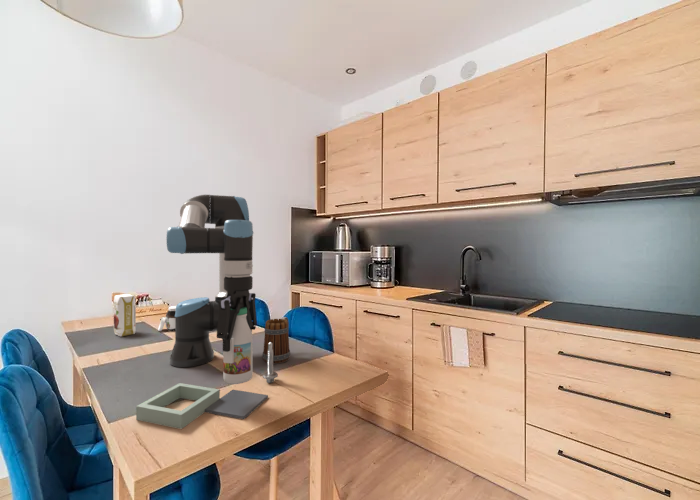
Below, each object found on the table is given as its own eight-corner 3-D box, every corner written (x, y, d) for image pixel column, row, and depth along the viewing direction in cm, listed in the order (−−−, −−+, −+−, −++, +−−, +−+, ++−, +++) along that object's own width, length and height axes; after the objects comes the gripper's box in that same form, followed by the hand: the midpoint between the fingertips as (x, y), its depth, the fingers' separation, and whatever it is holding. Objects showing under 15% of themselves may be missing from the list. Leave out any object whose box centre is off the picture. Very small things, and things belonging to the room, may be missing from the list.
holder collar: (136, 419, 81) (136, 406, 81) (179, 394, 94) (179, 382, 94) (181, 429, 77) (181, 414, 77) (219, 401, 91) (219, 389, 90)
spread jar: (188, 329, 164) (188, 306, 164) (166, 334, 155) (166, 310, 155) (175, 325, 171) (176, 304, 171) (153, 330, 161) (153, 307, 161)
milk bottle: (228, 373, 92) (228, 305, 92) (255, 373, 93) (255, 305, 92) (219, 385, 84) (219, 310, 84) (249, 384, 85) (249, 310, 85)
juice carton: (130, 330, 160) (130, 293, 160) (137, 333, 155) (137, 295, 154) (112, 334, 154) (112, 295, 153) (119, 337, 149) (118, 297, 148)
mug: (283, 365, 118) (283, 325, 117) (257, 362, 120) (257, 323, 120) (298, 351, 133) (299, 315, 133) (275, 349, 135) (275, 314, 135)
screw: (277, 377, 107) (278, 383, 102) (262, 379, 106) (262, 385, 101) (277, 339, 107) (278, 343, 102) (262, 340, 105) (262, 344, 101)
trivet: (204, 412, 85) (204, 409, 85) (232, 392, 96) (232, 389, 96) (243, 419, 82) (243, 416, 82) (267, 397, 93) (267, 395, 93)
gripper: (226, 280, 77) (225, 373, 78) (269, 273, 97) (269, 347, 97) (200, 278, 79) (200, 369, 80) (247, 272, 99) (247, 344, 99)
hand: (238, 357), depth 89 cm, fingers closed on milk bottle, 8 cm apart
